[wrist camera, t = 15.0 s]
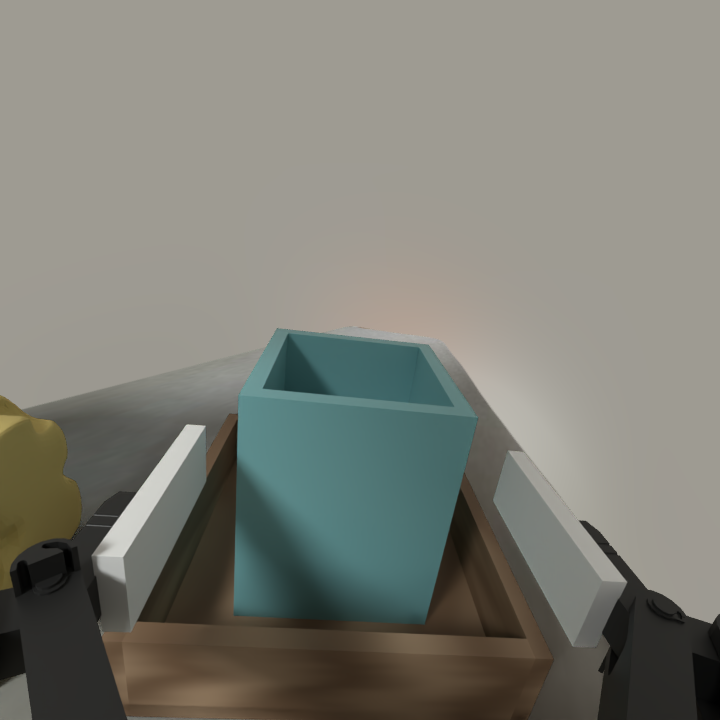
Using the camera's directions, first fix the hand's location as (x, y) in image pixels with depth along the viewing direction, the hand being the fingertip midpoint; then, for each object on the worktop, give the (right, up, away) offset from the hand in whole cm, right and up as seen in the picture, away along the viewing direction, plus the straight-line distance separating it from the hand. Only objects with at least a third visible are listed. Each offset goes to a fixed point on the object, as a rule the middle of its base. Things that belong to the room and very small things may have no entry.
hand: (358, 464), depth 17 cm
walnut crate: (-2, -8, +8) cm, 12 cm away
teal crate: (-2, -7, +8) cm, 11 cm away
